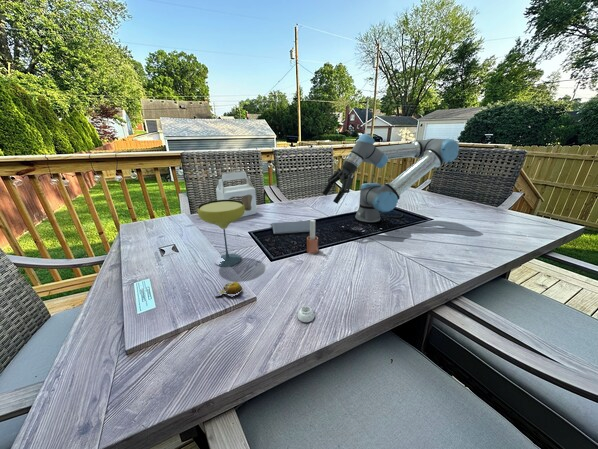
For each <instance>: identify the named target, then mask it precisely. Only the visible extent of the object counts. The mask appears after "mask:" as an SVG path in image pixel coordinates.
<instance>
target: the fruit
mask: <svg viewBox="0 0 598 449" xmlns="http://www.w3.org/2000/svg"><path fill="white" fill-rule="evenodd" d="M241 290H242V291H243V286H242V285H241V284H240V283H239V282H237V281H233V282H228V283H226V284H225V285H224V286H223V289H221V290H220V291H219V292H218V293H217V294H224V293H225V291H226V293H227V294H236V293H238V292H240V291H241ZM240 295H241V293H240V294H238V295H235V296H233V297H234V298H233V297H232V298H231V299H235V298H238V297H239V296H240Z"/></svg>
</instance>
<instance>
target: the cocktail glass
mask: <svg viewBox="0 0 598 449" xmlns="http://www.w3.org/2000/svg"><path fill="white" fill-rule="evenodd" d="M244 212H245V207H244V204H243V201H240V200H237V199H229V200H217V199H216V200H210V201H207V202H203V203H201V204H199V205H198V206H197V215H198V216H197V217H199V219H200V220H202V221H203V222H205V223H208V224H211V225H215V226H218V227H219V228H220V229H222V230H223V238H224V246H225V247H224V248H225V254H223V255H220V256H221V258H223V259H224V260H225V261H222V262H220V263H221V264H219V266H218V267H221V268H222V267H223V268H228V267H232V266H235V265H237V264H239V263H240V262H241V260H242V259H241V256H240V255H238V254H235V253H229V250H228V244H227V235H226V229H227V228H228V227H229V225H230V224H232V223H235V222H236V221H238V220H239V219H241V218H242V217H241V216H242V215H243V214H244Z"/></svg>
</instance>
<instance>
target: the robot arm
mask: <svg viewBox="0 0 598 449" xmlns="http://www.w3.org/2000/svg"><path fill="white" fill-rule="evenodd" d="M375 140H376V139H374V138H373V137H372V136H371V135H369V134H367V133H363V134H361V135H360V136H359V137H358V139H357V140H356V143H355V144H354V146H353V147H352V149H351V150H350V152H349V154H348V155H347V157H346V159H345V160H344V161H343V163H342V165H341V168H340V167H338V168H337V169H336V171H335V172H334V173H333V174H332V175H331V176H330V177H329V178H328V179H327V180H326V181H327V185H326V186H325V188H324V189H323V191H322V193H321V194H322V195H324V196H328V194H329V192H330V191H331V189H332V188H333V186H334V184H336V183H337V182H338V181H340V180H341V181H342V183H341V189H340V190H339V191H338V192H337V194H336V195H335V197H334V199H333V201H332V202H333V203H335V204H339V203H340V201H341V199H342V198H343V197H344V195H345V194H349V193H350V190H351V187H352V184H353V180H354V178H355V173H356V171H357V169H358V167H360V166H361V164H362V163H366V164H370V165H373V166H374V167H376V168H378V169H382V168H384V167H385V166H386V165H387V164H388V162H389V160H396V159H403V158H405V159H406V158H412V159H418V160H416V161H415V162H414V163H413V164H412V165H410V166H409V167H408V168H407V169H405V170H404V171H403V172H401V174H399V175H398V176H397V177H396V178H394V179H393V180H392V181H390V182H386V183H384V184H383V185H382V184H381V183H379V182H367V183H366V182H365V183H362V184H361V185H360V191H359V202H358V203H359V205H358V209H357V211H356V214H355V217H354V220H356V221H357V222H359V223H363V224H376V223H380V221H381V218H391V219H400V218H403V216H404V213H401V215H399V216H393V215H392V216H391V215H380V214H381V213H388V212H391V211H392V210H394V209H395V208H396V207H397V204H398V203H399V200H400V199H401V195H402V194H404V193H405V191H407V190H408V189H409V188H410V187H411V186H413V185H414V184H416V183H417V182H418V181H420V180H421V178H423V177H424V176H425V175H426V174H428V173H429V172H430V171H431V170H433V169H434V168H435V169H436V168H439V167H441V166H442V165H443V164H444V163H451V162H454V161H455V160H456V159H457V157H458V155H459V151H460V145H459V143H458V142H457V140H455V139H452V138H427V139H422V140H416V141H412V142H411V143H404V144H403V143H402V144H393V145H383V146H376V145H375V142H376V141H375ZM380 212H381V213H380Z"/></svg>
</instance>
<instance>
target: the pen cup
mask: <svg viewBox="0 0 598 449" xmlns="http://www.w3.org/2000/svg"><path fill="white" fill-rule="evenodd" d="M306 252H307V253H308V254H317V253H319V237H318V236H316V235H315V240H310V235H308V236H307V237H306Z"/></svg>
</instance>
